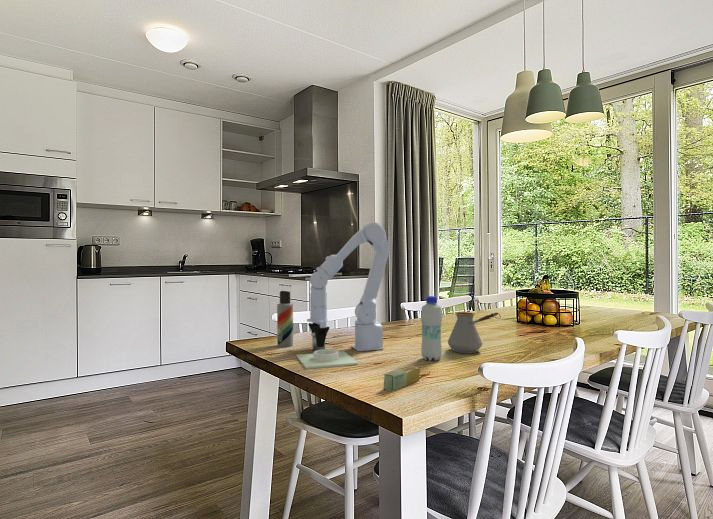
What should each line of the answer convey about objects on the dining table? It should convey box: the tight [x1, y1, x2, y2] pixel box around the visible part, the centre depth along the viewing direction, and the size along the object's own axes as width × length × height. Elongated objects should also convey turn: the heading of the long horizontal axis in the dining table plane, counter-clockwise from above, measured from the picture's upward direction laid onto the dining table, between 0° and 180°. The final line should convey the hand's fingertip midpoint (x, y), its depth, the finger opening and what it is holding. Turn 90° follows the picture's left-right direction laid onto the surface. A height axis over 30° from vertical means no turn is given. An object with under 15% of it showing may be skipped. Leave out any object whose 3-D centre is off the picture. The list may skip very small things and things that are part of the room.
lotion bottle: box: [276, 290, 294, 348], centre depth 159 cm, size 6×6×20 cm
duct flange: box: [295, 348, 359, 370], centre depth 137 cm, size 16×16×3 cm
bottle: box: [420, 295, 443, 362], centre depth 138 cm, size 7×7×20 cm
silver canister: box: [310, 332, 326, 352], centre depth 151 cm, size 5×5×6 cm
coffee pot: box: [447, 311, 501, 354], centre depth 145 cm, size 21×12×15 cm, turn 27°
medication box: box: [383, 365, 420, 392], centre depth 112 cm, size 12×3×4 cm, turn 137°
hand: (318, 345), depth 151 cm, fingers closed on silver canister, 5 cm apart
